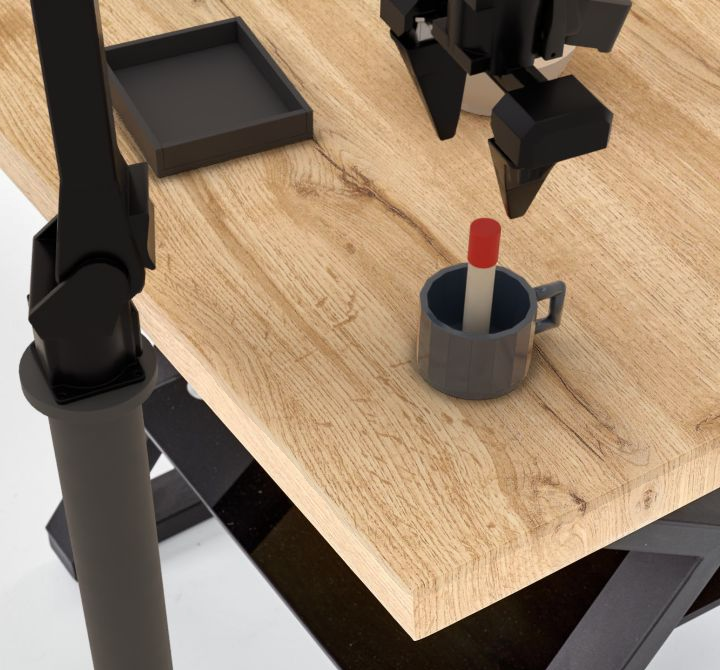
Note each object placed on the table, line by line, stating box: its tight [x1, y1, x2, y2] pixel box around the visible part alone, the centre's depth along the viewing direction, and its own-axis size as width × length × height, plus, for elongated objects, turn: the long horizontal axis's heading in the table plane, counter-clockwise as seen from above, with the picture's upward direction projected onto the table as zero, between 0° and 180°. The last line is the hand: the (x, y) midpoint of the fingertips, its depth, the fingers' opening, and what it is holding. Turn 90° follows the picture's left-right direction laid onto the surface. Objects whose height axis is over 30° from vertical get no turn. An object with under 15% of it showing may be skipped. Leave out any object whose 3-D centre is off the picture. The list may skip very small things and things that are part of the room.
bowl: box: [461, 44, 577, 117], centre depth 128 cm, size 16×16×8 cm
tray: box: [105, 15, 314, 179], centre depth 128 cm, size 13×15×3 cm
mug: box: [415, 262, 567, 401], centre depth 107 cm, size 11×8×6 cm
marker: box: [462, 217, 502, 334], centre depth 105 cm, size 2×2×11 cm
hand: (480, 176), depth 102 cm, fingers open, 9 cm apart
